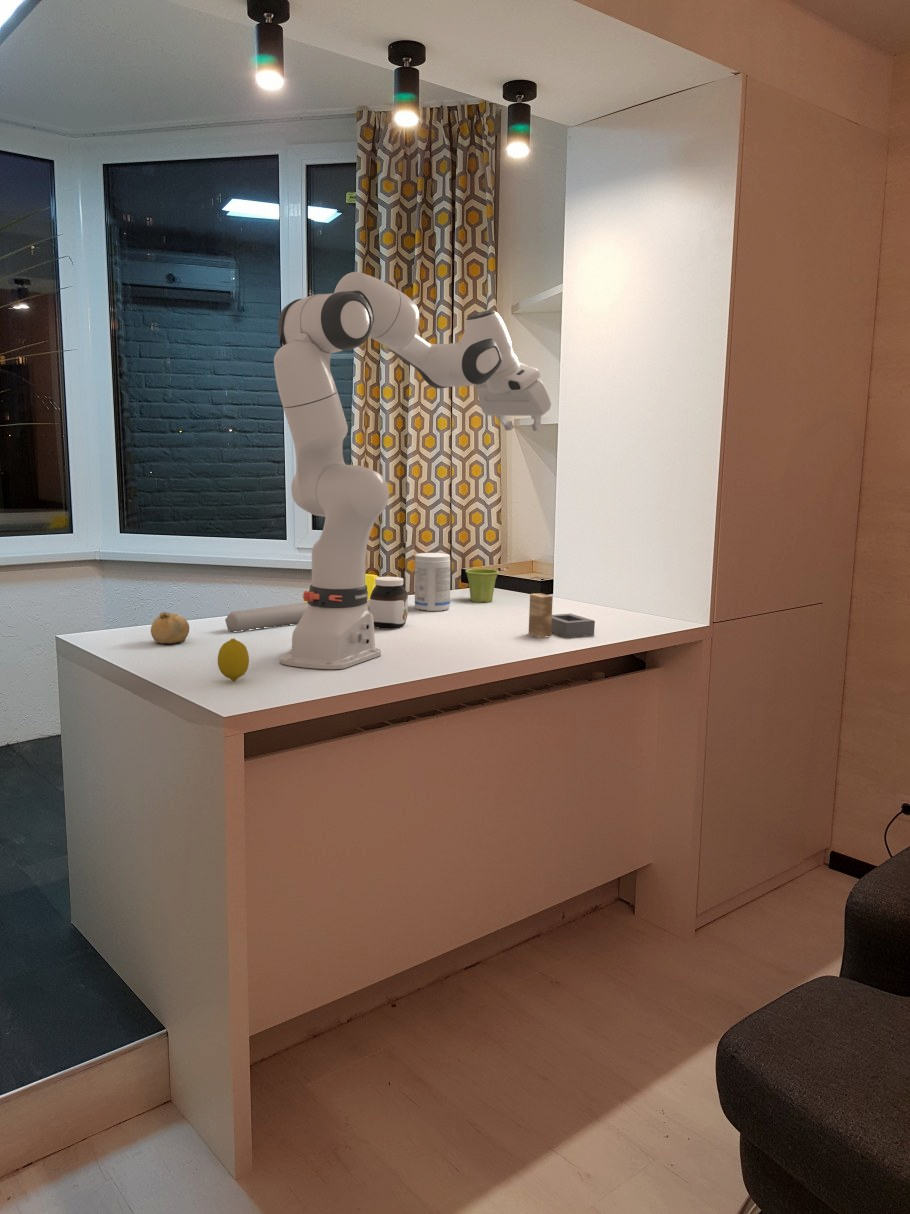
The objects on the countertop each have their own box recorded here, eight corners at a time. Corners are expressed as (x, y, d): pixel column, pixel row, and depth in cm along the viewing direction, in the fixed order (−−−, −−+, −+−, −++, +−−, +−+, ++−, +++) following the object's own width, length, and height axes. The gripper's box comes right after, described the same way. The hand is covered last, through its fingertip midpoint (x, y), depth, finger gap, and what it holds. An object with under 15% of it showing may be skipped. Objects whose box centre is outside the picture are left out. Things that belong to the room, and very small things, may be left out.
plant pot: (487, 605, 254) (488, 574, 253) (458, 601, 259) (459, 571, 258) (503, 600, 262) (504, 570, 261) (474, 597, 267) (475, 567, 266)
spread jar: (394, 631, 215) (394, 582, 213) (351, 626, 219) (351, 578, 217) (415, 622, 226) (415, 576, 224) (374, 618, 230) (374, 573, 228)
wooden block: (540, 637, 212) (541, 597, 211) (528, 633, 217) (530, 593, 215) (550, 636, 214) (552, 596, 212) (539, 632, 218) (540, 593, 216)
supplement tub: (448, 606, 251) (450, 552, 249) (450, 612, 242) (452, 557, 239) (413, 605, 251) (414, 552, 248) (414, 611, 241) (415, 556, 239)
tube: (234, 618, 206) (326, 606, 223) (223, 607, 210) (314, 596, 227) (231, 639, 208) (322, 625, 225) (220, 628, 212) (310, 615, 229)
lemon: (211, 683, 165) (210, 639, 164) (229, 676, 170) (229, 634, 169) (237, 686, 163) (237, 642, 162) (255, 679, 168) (254, 637, 167)
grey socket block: (566, 637, 213) (566, 622, 212) (542, 629, 221) (543, 615, 221) (594, 635, 216) (594, 620, 216) (569, 627, 225) (570, 613, 224)
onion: (156, 639, 201) (155, 607, 200) (193, 639, 202) (192, 607, 200) (147, 647, 193) (146, 614, 192) (185, 647, 194) (184, 614, 193)
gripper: (465, 385, 220) (485, 435, 227) (527, 383, 205) (546, 437, 212) (482, 372, 223) (501, 422, 230) (544, 369, 208) (562, 423, 215)
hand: (523, 429), depth 221 cm, fingers open, 8 cm apart
